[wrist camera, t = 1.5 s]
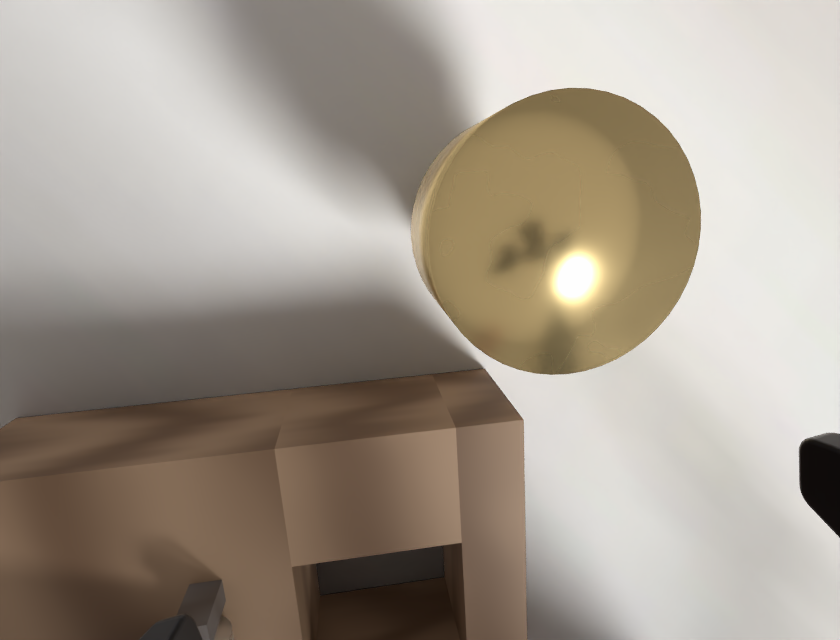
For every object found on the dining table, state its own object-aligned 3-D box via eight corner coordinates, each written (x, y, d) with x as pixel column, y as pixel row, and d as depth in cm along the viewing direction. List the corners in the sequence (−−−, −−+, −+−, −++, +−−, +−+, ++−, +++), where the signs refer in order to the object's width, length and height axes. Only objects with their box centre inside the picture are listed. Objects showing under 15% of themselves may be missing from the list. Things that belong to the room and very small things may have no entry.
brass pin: (559, 128, 19) (710, 81, 11) (559, 295, 21) (691, 360, 13) (389, 138, 19) (419, 95, 11) (402, 309, 20) (437, 388, 12)
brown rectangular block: (484, 368, 21) (543, 446, 15) (494, 644, 25) (545, 807, 18) (16, 418, 19) (-156, 533, 13) (97, 710, 23) (-6, 918, 16)
